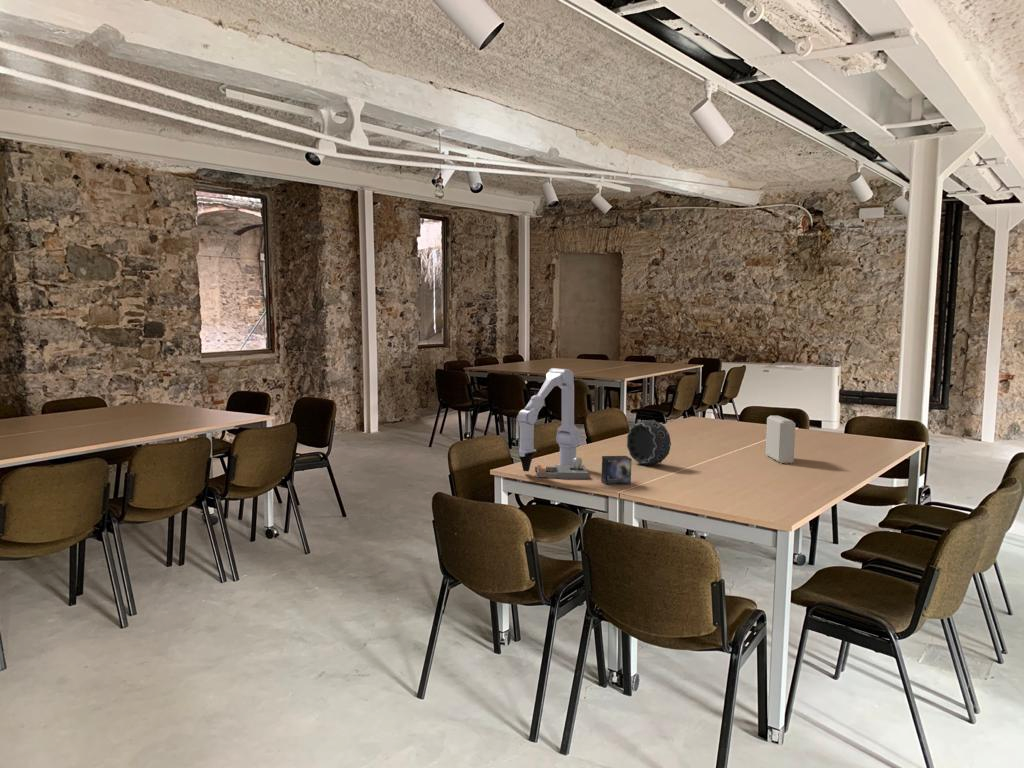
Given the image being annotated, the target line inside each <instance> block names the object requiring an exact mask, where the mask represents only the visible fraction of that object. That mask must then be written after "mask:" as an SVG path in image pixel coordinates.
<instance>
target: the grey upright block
mask: <svg viewBox="0 0 1024 768" xmlns="http://www.w3.org/2000/svg"><path fill="white" fill-rule="evenodd" d="M795 443H796V422H794V420H792V419H789V418H786V417H783V416H781V415H769V416H768V417H766V435H765V455H766V456H767V455H768V456H769V457H768V456H767V457H768V458H770V457H771V458H770V459H772V458H773V459H772V460H774V459H775V460H776V462H777V461H778V462H777V463H779V462H780V463H779V464H781V463H791V464H793V463H794V462H795V446H796V445H795ZM775 460H774V461H775Z"/></svg>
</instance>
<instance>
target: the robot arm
mask: <svg viewBox="0 0 1024 768" xmlns="http://www.w3.org/2000/svg"><path fill="white" fill-rule="evenodd" d="M574 375H575V374H574V372H573V371H572V370H571V369H569V368H556V367H551V368H550V369H549V370H548V372H547V373H546V374H545V381H544V382H543V384H542V385H541V388H540V389H539V391H538V393H537V394H534V395H532V396H531V397H530V400H529V401H528V403H527V404H526V406H525V407H524V408H523V409H521V410H520V411H518V414H517V416H516V419H517V422H518V426H519V449H518V451H519V453H518V458H519V460H520V462H521V467H522V471H523V472H529V471H530V469H531V468H530V467H531V464H532V461H533V458H534V456H535V452H537V449H535V448H534V442H535V440H534V437H535V435H534V434H535V430H534V429H535V423H536V422H537V420H538V415H539V412H540V411H541V409H542V408H543V406H544V404H545V398H546V397H547V396H548V395H549V394H550V393H551V391H552V390H553V389H554V388H555V387H559V389H561V425H560V426H558V428H557V433H556V435H555V441H556V444H558V447H559V462H558V463H557V465H573V458H577V448H578V446H579V445H580V443H581V440H582V439H581V435H580V429H579V428H578V427H577V426H576V425H575V383H574V382H575V381H574Z"/></svg>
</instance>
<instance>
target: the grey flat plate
mask: <svg viewBox="0 0 1024 768" xmlns="http://www.w3.org/2000/svg"><path fill="white" fill-rule="evenodd" d="M535 471H537V466H534V472H535ZM546 471H548V472H546V473H538V472H536V475H535V476H536V478H537V477H552V478H551V479H559V478H560V480H589V475H590V472H589V471H588V469H587V468H586V466H585V465H584V464H582V470H573V465H558V464H556V465H555V466H546ZM549 471H550V472H549Z"/></svg>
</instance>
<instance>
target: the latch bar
mask: <svg viewBox="0 0 1024 768" xmlns="http://www.w3.org/2000/svg"><path fill="white" fill-rule="evenodd" d="M536 467H537V472H538V473H547V472H546V467H547V466H546V464H545V463H537V465H536ZM537 472H536V473H537Z"/></svg>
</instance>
